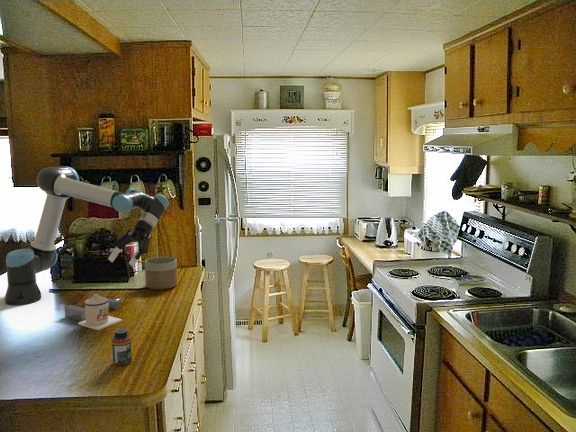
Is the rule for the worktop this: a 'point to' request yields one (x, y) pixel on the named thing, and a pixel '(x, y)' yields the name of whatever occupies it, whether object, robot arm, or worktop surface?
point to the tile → (97, 327)
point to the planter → (161, 273)
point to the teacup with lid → (96, 310)
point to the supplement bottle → (121, 348)
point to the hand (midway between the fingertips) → (120, 262)
